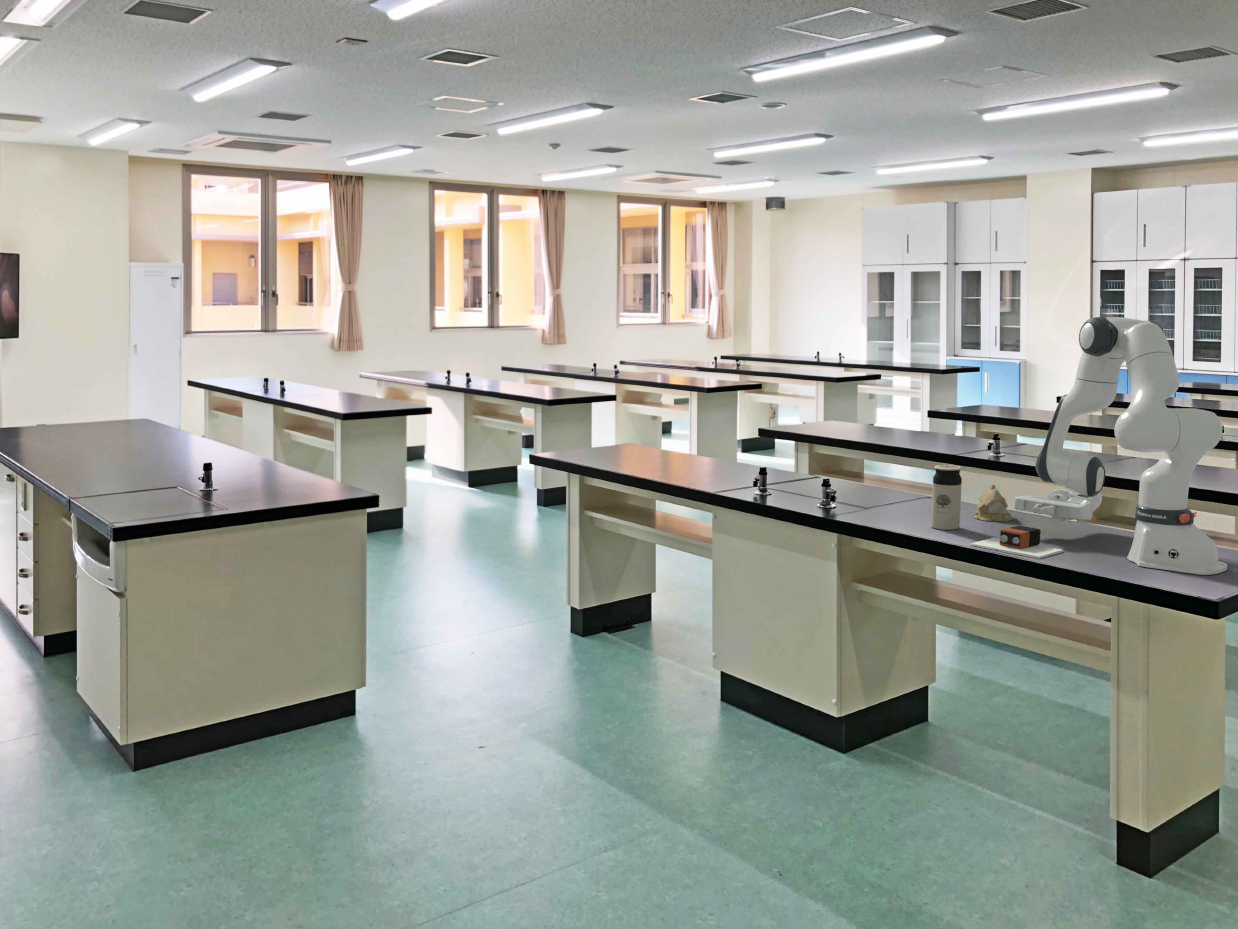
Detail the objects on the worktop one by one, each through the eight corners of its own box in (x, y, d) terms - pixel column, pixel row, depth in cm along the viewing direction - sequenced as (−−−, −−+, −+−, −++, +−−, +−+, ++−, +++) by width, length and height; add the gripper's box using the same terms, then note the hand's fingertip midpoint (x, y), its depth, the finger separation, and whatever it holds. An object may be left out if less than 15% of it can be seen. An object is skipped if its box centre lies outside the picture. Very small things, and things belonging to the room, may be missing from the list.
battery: (1018, 524, 300) (997, 529, 294) (1041, 528, 294) (1020, 533, 288) (1017, 540, 300) (996, 545, 294) (1040, 544, 295) (1019, 550, 289)
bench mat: (1062, 552, 289) (1062, 549, 289) (1039, 558, 282) (1039, 556, 282) (994, 539, 305) (994, 537, 304) (970, 545, 297) (970, 543, 297)
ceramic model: (1015, 522, 329) (1017, 489, 327) (977, 521, 330) (978, 488, 328) (1005, 513, 343) (1006, 481, 341) (968, 512, 344) (969, 481, 342)
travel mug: (939, 523, 326) (942, 463, 323) (964, 527, 320) (967, 466, 318) (925, 527, 320) (928, 466, 318) (950, 531, 315) (953, 469, 312)
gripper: (1029, 488, 315) (1003, 494, 306) (1099, 498, 299) (1074, 504, 290) (1027, 510, 316) (1002, 516, 307) (1097, 521, 300) (1072, 527, 291)
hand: (1037, 510), depth 298 cm, fingers closed
